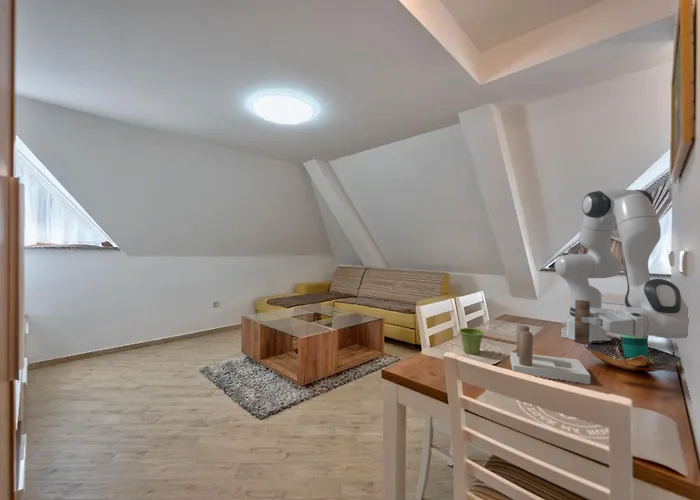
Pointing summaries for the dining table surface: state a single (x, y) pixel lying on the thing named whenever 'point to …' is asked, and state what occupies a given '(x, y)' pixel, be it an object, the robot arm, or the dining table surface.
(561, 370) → the grey peg base
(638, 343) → the cup
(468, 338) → the plant pot
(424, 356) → the dining table surface
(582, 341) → the stool leg
